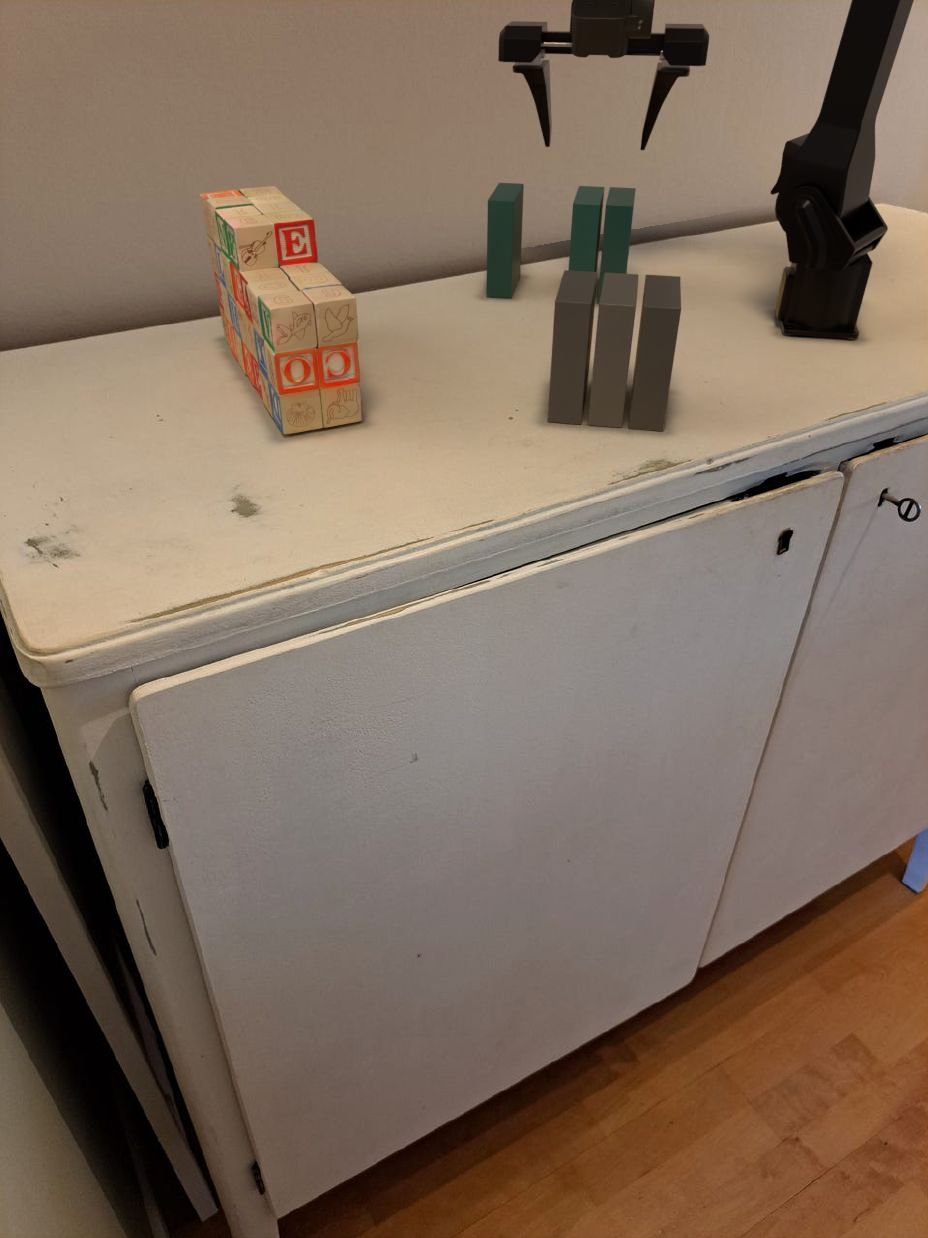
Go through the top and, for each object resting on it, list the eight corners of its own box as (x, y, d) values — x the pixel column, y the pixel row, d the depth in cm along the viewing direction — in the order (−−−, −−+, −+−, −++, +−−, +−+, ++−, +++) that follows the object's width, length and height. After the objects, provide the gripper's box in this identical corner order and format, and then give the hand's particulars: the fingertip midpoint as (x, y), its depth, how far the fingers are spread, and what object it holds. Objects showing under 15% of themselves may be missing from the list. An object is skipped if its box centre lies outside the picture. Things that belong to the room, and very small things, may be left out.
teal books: (625, 282, 93) (635, 187, 87) (622, 305, 88) (633, 205, 82) (572, 279, 94) (578, 185, 88) (566, 301, 88) (572, 203, 83)
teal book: (520, 276, 94) (523, 183, 89) (511, 298, 89) (514, 200, 84) (496, 275, 95) (498, 182, 89) (486, 296, 89) (487, 199, 84)
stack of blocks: (365, 423, 67) (353, 250, 59) (282, 438, 65) (259, 262, 57) (291, 328, 82) (274, 182, 75) (223, 338, 81) (198, 189, 73)
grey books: (663, 392, 71) (680, 276, 66) (663, 431, 66) (681, 308, 61) (556, 384, 73) (564, 269, 67) (547, 422, 67) (554, 300, 62)
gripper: (490, -50, 74) (487, 161, 83) (725, -49, 71) (694, 169, 81) (509, -53, 82) (504, 138, 92) (718, -52, 80) (691, 144, 89)
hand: (594, 147), depth 88 cm, fingers open, 9 cm apart
